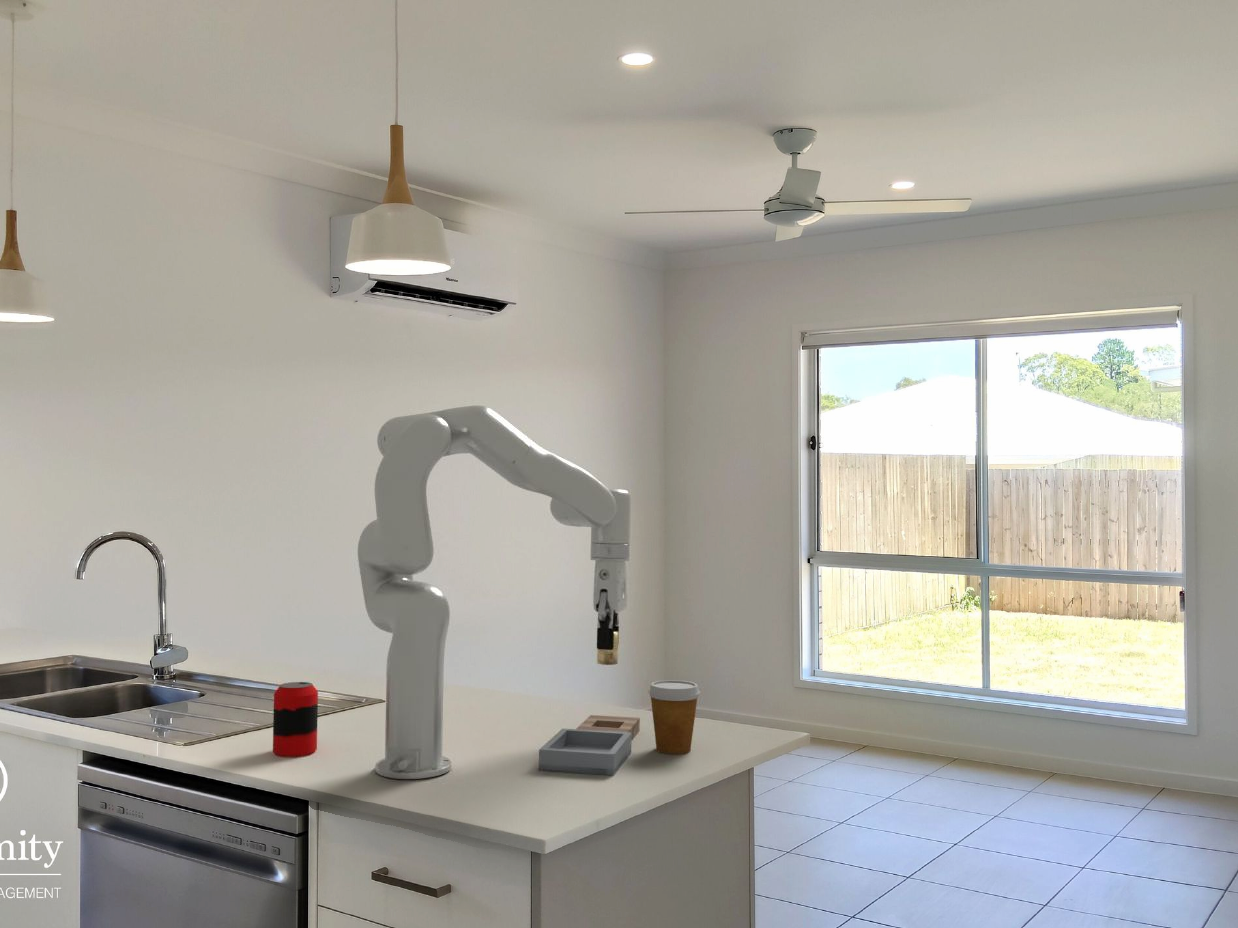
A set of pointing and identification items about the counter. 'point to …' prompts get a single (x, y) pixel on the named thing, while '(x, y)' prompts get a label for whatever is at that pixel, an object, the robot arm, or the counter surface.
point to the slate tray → (585, 751)
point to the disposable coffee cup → (673, 714)
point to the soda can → (295, 719)
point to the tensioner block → (611, 724)
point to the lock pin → (609, 653)
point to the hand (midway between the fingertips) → (607, 646)
